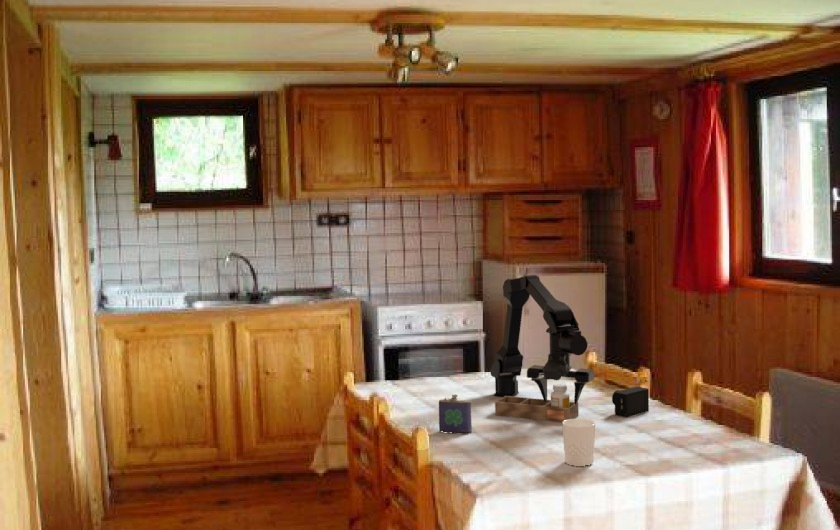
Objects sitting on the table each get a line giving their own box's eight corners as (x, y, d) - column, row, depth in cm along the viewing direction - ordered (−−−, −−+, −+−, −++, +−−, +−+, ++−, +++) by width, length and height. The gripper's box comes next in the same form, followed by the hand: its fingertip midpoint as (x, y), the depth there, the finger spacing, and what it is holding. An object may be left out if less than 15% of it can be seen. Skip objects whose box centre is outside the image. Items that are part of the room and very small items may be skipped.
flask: (472, 431, 248) (471, 393, 247) (470, 434, 245) (469, 396, 244) (440, 430, 251) (439, 392, 250) (437, 433, 248) (436, 395, 247)
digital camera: (634, 408, 268) (633, 385, 268) (648, 411, 264) (648, 388, 264) (611, 414, 262) (611, 391, 261) (626, 417, 258) (625, 394, 257)
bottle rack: (494, 415, 265) (494, 402, 264) (505, 408, 272) (505, 395, 272) (569, 422, 254) (568, 409, 254) (578, 415, 261) (578, 402, 261)
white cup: (559, 458, 221) (558, 419, 221) (590, 457, 222) (590, 417, 221) (567, 468, 214) (566, 427, 213) (599, 466, 214) (599, 426, 213)
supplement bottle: (569, 415, 262) (568, 382, 261) (570, 420, 257) (570, 387, 256) (550, 415, 263) (550, 382, 262) (551, 420, 257) (551, 387, 257)
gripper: (519, 352, 255) (520, 406, 257) (582, 356, 246) (582, 412, 248) (533, 346, 265) (534, 397, 266) (594, 349, 256) (595, 403, 258)
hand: (560, 402), depth 259 cm, fingers open, 9 cm apart
